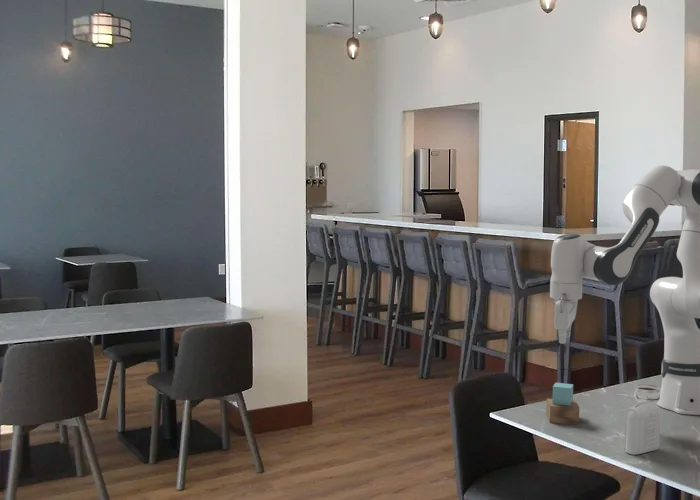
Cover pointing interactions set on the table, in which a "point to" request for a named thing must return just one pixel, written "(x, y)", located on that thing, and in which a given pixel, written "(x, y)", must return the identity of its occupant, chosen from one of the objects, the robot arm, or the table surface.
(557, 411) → the walnut block
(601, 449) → the table surface
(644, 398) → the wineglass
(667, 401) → the robot arm
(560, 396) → the teal cube
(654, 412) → the white plastic bottle
